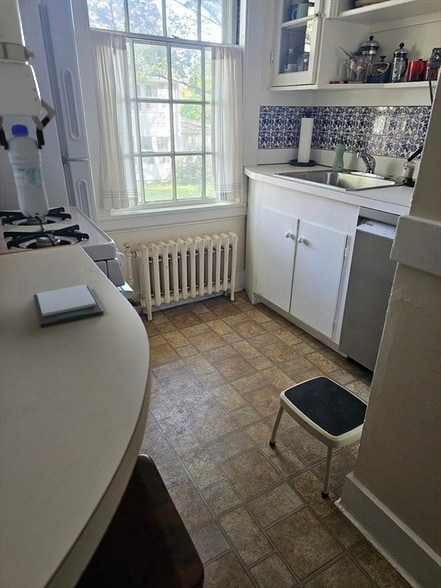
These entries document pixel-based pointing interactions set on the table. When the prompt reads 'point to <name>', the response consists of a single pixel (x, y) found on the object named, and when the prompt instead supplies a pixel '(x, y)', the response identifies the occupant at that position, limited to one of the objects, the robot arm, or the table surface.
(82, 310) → the scale
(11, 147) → the bottle
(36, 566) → the table surface
